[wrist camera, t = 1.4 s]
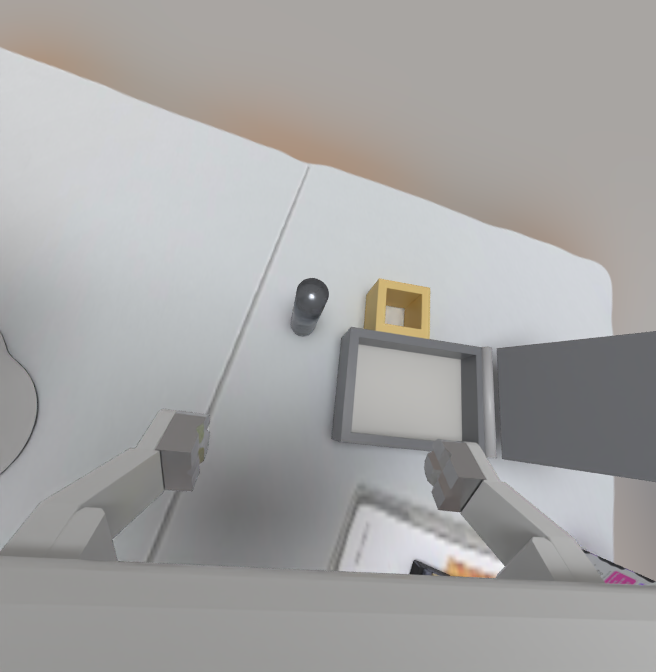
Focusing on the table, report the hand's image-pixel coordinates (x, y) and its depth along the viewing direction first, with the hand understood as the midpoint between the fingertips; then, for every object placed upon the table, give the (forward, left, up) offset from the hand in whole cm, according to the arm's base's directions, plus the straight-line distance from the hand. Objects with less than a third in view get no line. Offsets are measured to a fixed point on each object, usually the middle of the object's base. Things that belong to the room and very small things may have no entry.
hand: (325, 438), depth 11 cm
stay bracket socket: (+11, +14, -25) cm, 30 cm away
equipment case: (+13, +5, -25) cm, 28 cm away
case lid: (+26, +5, -12) cm, 29 cm away
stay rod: (0, +12, -25) cm, 27 cm away
